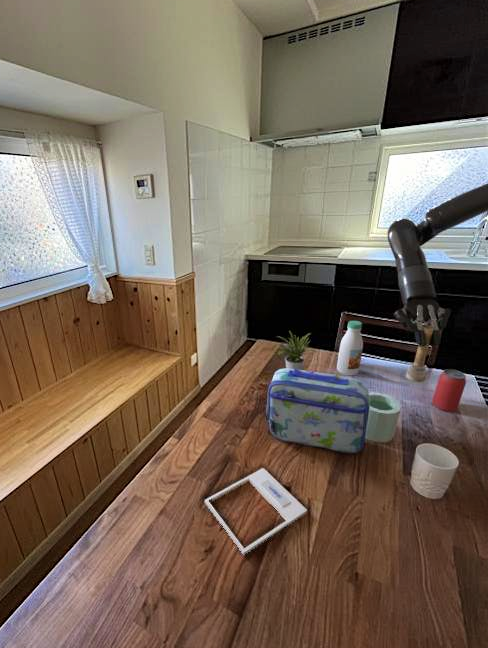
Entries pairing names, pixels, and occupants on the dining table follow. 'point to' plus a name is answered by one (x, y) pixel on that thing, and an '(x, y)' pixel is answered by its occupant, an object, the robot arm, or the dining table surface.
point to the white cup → (432, 470)
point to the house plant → (294, 352)
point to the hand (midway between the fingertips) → (429, 345)
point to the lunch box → (318, 410)
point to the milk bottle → (350, 350)
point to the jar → (382, 417)
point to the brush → (420, 359)
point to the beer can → (449, 390)
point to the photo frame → (273, 494)
